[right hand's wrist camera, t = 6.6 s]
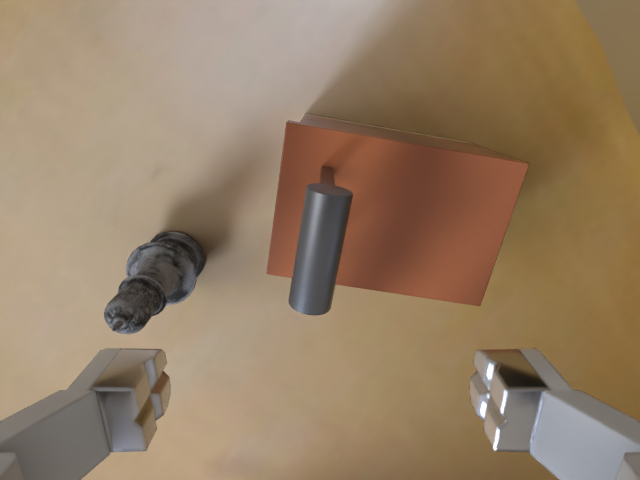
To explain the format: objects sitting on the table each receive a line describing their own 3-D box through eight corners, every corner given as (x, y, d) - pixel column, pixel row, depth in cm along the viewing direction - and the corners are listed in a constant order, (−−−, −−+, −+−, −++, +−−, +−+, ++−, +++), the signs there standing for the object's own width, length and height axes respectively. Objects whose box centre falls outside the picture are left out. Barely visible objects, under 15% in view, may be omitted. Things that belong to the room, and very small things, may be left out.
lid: (268, 266, 27) (246, 342, 19) (288, 120, 24) (270, 136, 16) (473, 297, 28) (536, 383, 20) (519, 160, 25) (619, 194, 17)
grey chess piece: (155, 217, 36) (81, 275, 25) (216, 245, 37) (171, 313, 26) (135, 270, 38) (56, 346, 27) (193, 296, 39) (141, 380, 27)
